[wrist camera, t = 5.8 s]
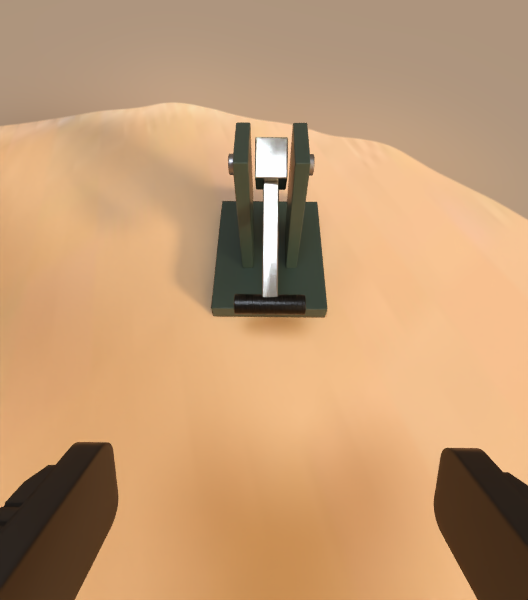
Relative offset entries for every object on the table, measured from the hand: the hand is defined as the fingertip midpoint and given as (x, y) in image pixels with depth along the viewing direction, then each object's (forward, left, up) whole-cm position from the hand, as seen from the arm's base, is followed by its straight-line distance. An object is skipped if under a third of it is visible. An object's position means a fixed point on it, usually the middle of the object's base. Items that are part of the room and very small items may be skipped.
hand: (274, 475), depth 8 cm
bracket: (-15, +13, -18) cm, 27 cm away
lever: (-13, +11, -10) cm, 20 cm away
